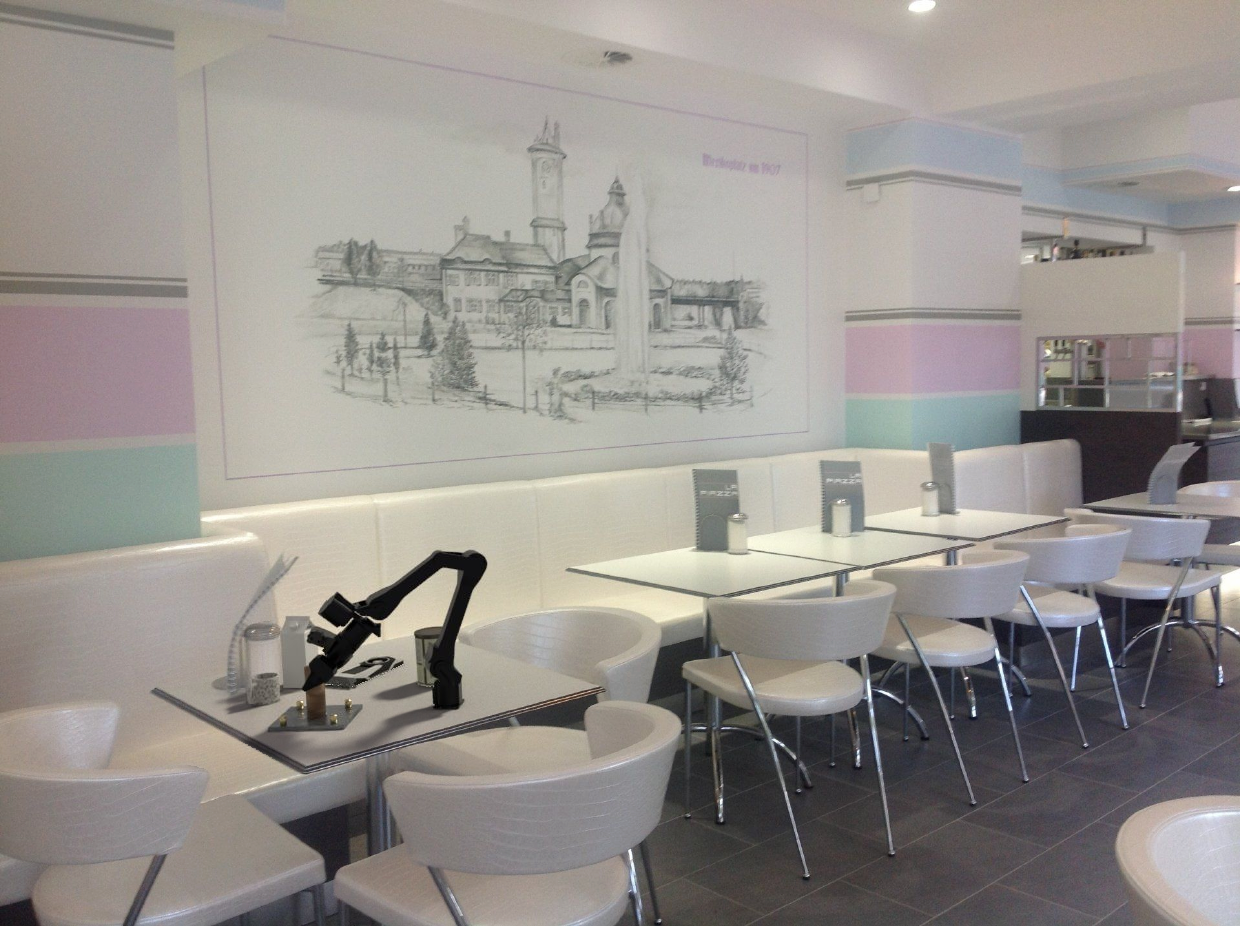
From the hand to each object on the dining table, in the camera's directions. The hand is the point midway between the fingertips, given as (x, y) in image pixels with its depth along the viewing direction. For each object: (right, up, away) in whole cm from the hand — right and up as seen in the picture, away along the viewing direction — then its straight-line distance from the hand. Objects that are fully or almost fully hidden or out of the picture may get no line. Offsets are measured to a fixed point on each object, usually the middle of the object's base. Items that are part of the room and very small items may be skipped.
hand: (308, 684), depth 255 cm
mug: (-17, -8, +16) cm, 25 cm away
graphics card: (+5, -6, +39) cm, 40 cm away
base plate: (+2, -8, +1) cm, 9 cm away
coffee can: (+26, -6, +29) cm, 39 cm away
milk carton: (-11, -7, +32) cm, 35 cm away
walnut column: (+2, -7, +1) cm, 8 cm away
